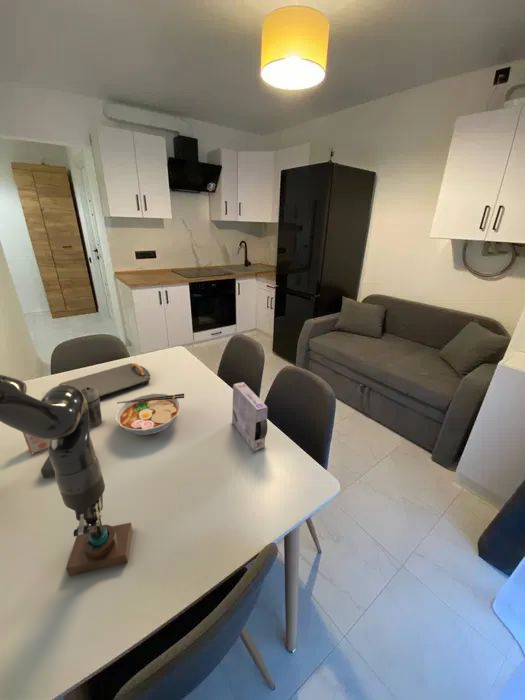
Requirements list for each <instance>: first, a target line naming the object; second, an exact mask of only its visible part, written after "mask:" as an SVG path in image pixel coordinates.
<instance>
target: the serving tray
mask: <svg viewBox="0 0 525 700" xmlns="http://www.w3.org/2000/svg"><path fill="white" fill-rule="evenodd" d="M82 379H83V381H84V384H85V387H86V388H87V387H91V388H94V389H96V390H97V391H98V393H99V395H100V398H101V397H103V396H106V395H110V394H113V393H117V392H118V391H119V392H120V391H122V390H125V389H129V388H131V387H133V386H137V385H140V384H142V383H143V384H145V385H148V384H149V382H150V380H151V374H150V372H149V369H146V367H144V366H142V365H140V364H139V363H126V364H122V365H119V366H116V367H112V368H109V369H105V370H101V371H98V372H94V373H91V374H87V375H84V376H80V377H77V378H74V379H70V380H67V381H63V382H60V383H59V384H58V385H57V386H59V385H70V386H73V387H75V388H77V389H79V390H80V391H81V390H82V389H84V386H83V383H82Z"/></svg>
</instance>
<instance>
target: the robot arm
mask: <svg viewBox="0 0 525 700" xmlns="http://www.w3.org/2000/svg"><path fill="white" fill-rule="evenodd" d="M58 385H59V384H58ZM58 385H57V386H54V387H52V388H50V389H49V390H48V391H47V392H45V394H44V395H43V397H42V398H41V400H40V399H37V398H35V397H33V396H31V395H29V394H27V391H28V390H27V389H28V387H27V384H26V382H24V381H23V380H21V379H18V378H15V377H11V376H7V375H4V374H1V373H0V422H1V423H2V424H5V425H6V426H8V427H9V428H13V429H15V430H17V431H19V432H21V433H22V434H23V433H25V434H28V435H30V436H32V437H35V438H38V439H44V440H50V444H49V448H48V449H47V450H48V456H49V457H50V460H51V463H52V465H53V468H54V471H55V476H54V478H55V481H56V484H57V487H58V490H59V492H60V496H61V499H62V501H63V504H64V506H65V507H66V508H68V509H70V510H72V511H74V513H75V520H76V521H78V526H77V527H76V529H74V530H73V533H72V534H73V537H77V536H79V535H84V534H89V533H90V535H91V537H92V538H94V537H99V536H101V535H102V531H103V526H102V525H103V523H102V520H101V519H102V512H101V511H103V507H104V505H103V498H104V496H103V495H104V492H105V488H106V484H105V479H104V477H103V472H102V469H101V464H100V462H99V459H98V457H97V455H96V452H95V449H94V445H93V442H92V439H91V433H90V426H89V412H88V405H87V401H86V398H85V396H84V395H83V393H82V392H81V391H80V390H79V389H77V388H75V387H73V386H70V385H59V386H58Z"/></svg>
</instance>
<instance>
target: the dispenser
mask: <svg viewBox="0 0 525 700" xmlns="http://www.w3.org/2000/svg"><path fill="white" fill-rule="evenodd" d="M102 526H104V527H105V528H106V530H107V533H108V538H107V540H106V542H105V543H104V544H103V545H101V546H99V547H93V546H92V545H91V543H90V540H89V534H90V533H89V534H84V535H79V536H75V540H74V542H73V547H72V548H71V553H70V555H69V558H68V561H67V564H66V568H65V569H66V572H67V575H68V577H69V578H70V577H74V576H78V575H82V574H86V573H91V572H96V571H100V570H103V569H104V570H105V569H107V568H112V567H116V566H120V565H121V566H122V565H125V564H128V563H129V558H130V551H131V545H132V539H133V538H132V537H133V532H134V529H133V525H132V522H127V523H121V524H117V525H109V524H102Z"/></svg>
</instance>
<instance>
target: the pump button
mask: <svg viewBox="0 0 525 700" xmlns="http://www.w3.org/2000/svg"><path fill="white" fill-rule="evenodd" d="M107 538H108V533H107V530H106V528H105V527H104V526H103V531H102V535H101V536H99V537H94V538H92V537H91V535H90V534H89V540H90V543H91V545H92V546H93V547H99V546H101V545H103V544H104V543H105V542H106V540H107Z"/></svg>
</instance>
